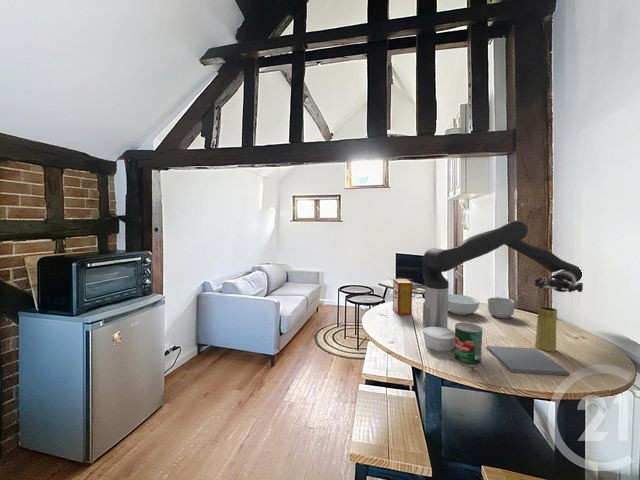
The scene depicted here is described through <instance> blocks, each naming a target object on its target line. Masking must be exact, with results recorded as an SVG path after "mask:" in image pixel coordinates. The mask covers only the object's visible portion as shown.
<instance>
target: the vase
mask: <svg viewBox="0 0 640 480" xmlns="http://www.w3.org/2000/svg"><path fill="white" fill-rule="evenodd" d="M537 309H538V310H537V321H536V332H535V343H534V348H536V349H537V350H539V351H544V352H550V353H555V352H557V317H558V310H557V308H553V307H550V306H538V308H537Z"/></svg>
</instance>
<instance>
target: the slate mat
mask: <svg viewBox="0 0 640 480" xmlns="http://www.w3.org/2000/svg"><path fill="white" fill-rule="evenodd" d="M486 350H487V351H488V352H489V353H490V354H491V355H493V357H494V358H495V359H496V360H497V361H499V362H500V363H501V364H502V365H503V366H504V368H506V369H507V370H508V371H509V372H510V373H511V372H512V373H525V374H542V375H543V374H546V375H560V376H561V375H563V376H569V375H570V372H569V371H568V370H567V369H565V367H563V366H561V365H560V364H558V363H557V362H556V361H555V360H553V359H552V358H550V357H548V356H547V355H546V354H545V353H543V352H542V351H541V350H540V349H538V348H536V347H519V346H518V347H515V346H514V347H513V346H499V345H498V346H497V345H496V346H495V345H486Z"/></svg>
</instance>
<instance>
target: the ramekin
mask: <svg viewBox="0 0 640 480" xmlns="http://www.w3.org/2000/svg"><path fill="white" fill-rule="evenodd" d="M422 334H423V339H424V345H425V346H426V347H427V348H428V349H431V350H433V351H435V352H436V351H437V352H450V351H452V350H454V344H455V343H454V342H455V331H454V330H451V329H449V328H447V329H446V328H442V327H427V328H425V327H424V328H423V329H422Z"/></svg>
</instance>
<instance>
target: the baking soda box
mask: <svg viewBox="0 0 640 480" xmlns="http://www.w3.org/2000/svg"><path fill="white" fill-rule="evenodd" d="M392 282H393V285H392V286H393V288H392V291H393V292H392V310H393V312H394V313H395V314H396V315H397V316H412V315H413V312H412V311H413V309H412V308H413V281H410V280H409V279H407V278H393V281H392Z"/></svg>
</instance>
